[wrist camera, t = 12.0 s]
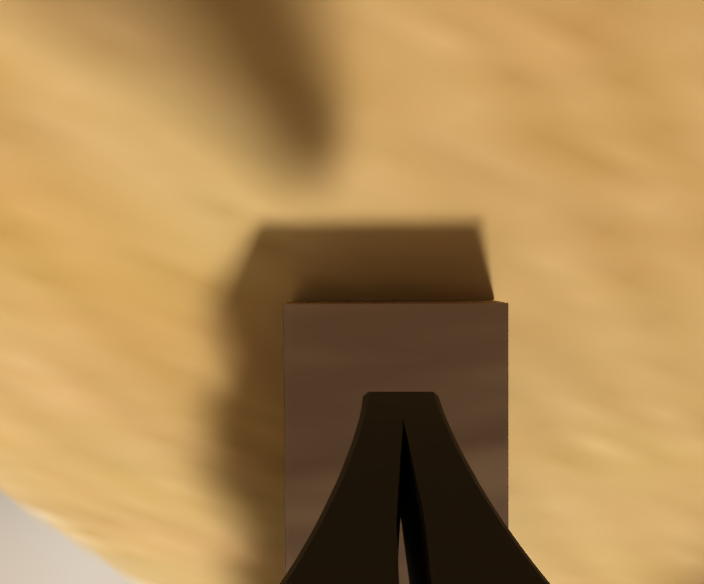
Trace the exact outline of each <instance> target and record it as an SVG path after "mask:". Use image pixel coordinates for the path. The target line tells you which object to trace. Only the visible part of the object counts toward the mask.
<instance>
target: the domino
mask: <svg viewBox="0 0 704 584" xmlns="http://www.w3.org/2000/svg"><path fill="white" fill-rule="evenodd" d="M368 392H434V393H435V394H437V395H438V396H439V399H440V402H441V405H442V408H443V411H444V414H445V416H446V419H447V421H448V423H449V426H450V428H451V430H452V432H453V434H454V436H455V439H456V441H457V443H458V445H459V447H460V449H461V451H462V453H463V455H464V457H465V459H466V460H467V462H468V464H469V466H470V467H471V469H472V471H473V473H474V475H475V476H476V478H477V480H478V482H479V484H480V485H481V487H482V489H483V490H484V492H485V494H486V495H487V497H488V499H489V500H490V502H491V503H492V505H493V506H494V508H495V509H496V511H497V513H498V514H499V516H500V517H501V519H502V520H503V522H504V523H505V525H506V526H507V528H508V303H504V302H499V301H334V302H289V303H286V304H284V419H285V550H286V574H287V572H288V571H289V569H290V568H291V566H292V565H293V563H294V561H295V560H296V558H297V556H298V555H299V553H300V551H301V550H302V548H303V546H304V544H305V543H306V541H307V539H308V538H309V536H310V534H311V532H312V530H313V528H314V527H315V525H316V523H317V521H318V519H319V517H320V515H321V513H322V511H323V509H324V507H325V505H326V503H327V501H328V499H329V496H330V494H331V492H332V490H333V488H334V486H335V484H336V482H337V479H338V477H339V475H340V472H341V470H342V467H343V465H344V462H345V459H346V457H347V454H348V452H349V449H350V447H351V444H352V441H353V437H354V434H355V431H356V428H357V425H358V421H359V417H360V412H361V407H362V399H363V396H364V395H365V394H366V393H368ZM398 568H399V584H409V577H408V569H407V562H406V554H405V547H404V539H403V532H402V524H401V520H400V537H399V554H398Z"/></svg>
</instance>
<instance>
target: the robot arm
mask: <svg viewBox="0 0 704 584" xmlns="http://www.w3.org/2000/svg"><path fill="white" fill-rule="evenodd" d="M400 520H401V524H402V532H403V539H404V547H405V554H406V562H407V569H408V577H409V584H550V583H549V582H548V581H547V580H546V578H545V577H544V576H543V575H542V573H541V572H540V571H539V570H538V568H537V567H536V566H535V565H534V563H533V562H532V561H531V559H530V558H529V557H528V555H527V554H526V553H525V551H524V550H523V549H522V547H521V546H520V545H519V543H518V542H517V541H516V539H515V538H514V536H513V535H512V533H511V532H510V531H509V529H508V528H507V526H506V525H505V523H504V522H503V520H502V519H501V517H500V516H499V514H498V513H497V511H496V509H495V508H494V506H493V505H492V503H491V502H490V500H489V499H488V497H487V495H486V494H485V492H484V490H483V489H482V487H481V485H480V484H479V482H478V480H477V478H476V476H475V475H474V473H473V471H472V469H471V467H470V466H469V464H468V462H467V460H466V459H465V457H464V455H463V453H462V451H461V449H460V447H459V445H458V443H457V441H456V439H455V436H454V434H453V432H452V430H451V428H450V426H449V423H448V421H447V419H446V416H445V414H444V411H443V408H442V405H441V402H440V399H439V396H438V395H437V394H435V393H434V392H368V393H366V394H365V395H364V396H363V399H362V407H361V412H360V417H359V421H358V425H357V428H356V431H355V434H354V437H353V441H352V444H351V447H350V449H349V452H348V454H347V457H346V459H345V462H344V465H343V467H342V470H341V472H340V475H339V477H338V479H337V482H336V484H335V486H334V488H333V490H332V492H331V494H330V496H329V499H328V501H327V503H326V505H325V507H324V509H323V511H322V513H321V515H320V517H319V519H318V521H317V523H316V525H315V527H314V528H313V530H312V532H311V534H310V536H309V538H308V539H307V541H306V543H305V544H304V546H303V548H302V550H301V551H300V553H299V555H298V556H297V558H296V560H295V561H294V563H293V565H292V566H291V568H290V569H289V571H288V572H287V574H286V575H285V577H284V578H283V580H282V582H281V583H280V584H399V568H398V554H399V537H400Z"/></svg>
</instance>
